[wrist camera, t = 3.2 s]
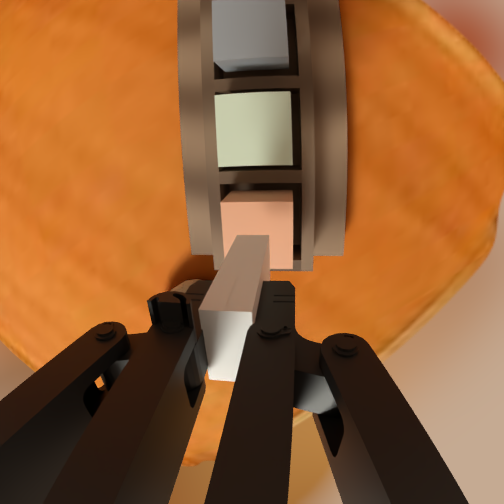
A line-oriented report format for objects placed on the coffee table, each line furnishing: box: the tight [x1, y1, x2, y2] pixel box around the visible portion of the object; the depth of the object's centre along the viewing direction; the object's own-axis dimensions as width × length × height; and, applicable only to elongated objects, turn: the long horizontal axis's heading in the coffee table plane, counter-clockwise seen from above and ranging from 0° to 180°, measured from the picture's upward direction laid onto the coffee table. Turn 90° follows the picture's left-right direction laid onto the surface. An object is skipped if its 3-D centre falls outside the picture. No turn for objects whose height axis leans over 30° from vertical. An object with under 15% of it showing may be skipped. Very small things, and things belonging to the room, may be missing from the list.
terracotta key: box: [220, 190, 293, 269], centre depth 19 cm, size 4×4×4 cm
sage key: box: [215, 91, 293, 167], centre depth 17 cm, size 4×4×4 cm
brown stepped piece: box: [178, 0, 347, 271], centre depth 19 cm, size 25×12×6 cm, turn 2°
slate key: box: [212, 0, 289, 72], centre depth 15 cm, size 4×4×4 cm
